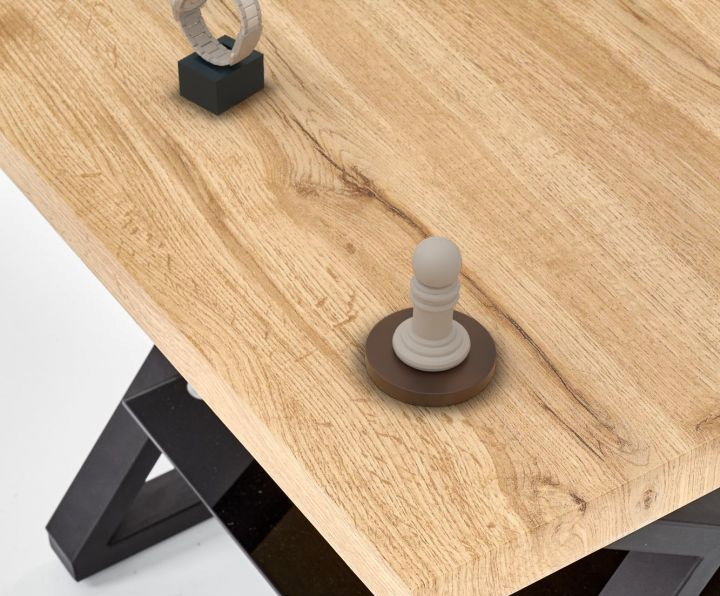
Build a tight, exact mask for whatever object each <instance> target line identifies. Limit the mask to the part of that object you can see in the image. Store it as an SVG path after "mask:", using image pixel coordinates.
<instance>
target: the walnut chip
mask: <svg viewBox="0 0 720 596" xmlns="http://www.w3.org/2000/svg"><path fill="white" fill-rule="evenodd" d="M412 317H413V306H412V307H407V308H403V309H399V310H396V311H394V312H392V313H389V314H388V315H386V316H384V317H383V318H381V320H379V321H378V322H376V323H375V325H374V326H373V327H372V328H371V330H370V331H369V333H368V335H367V338H366V341H365V348H364V349H365V350H364V364H365V370H366V371H367V375H369V378H370V379H371V380H372V382H373V383H374V385H375V386H377V388H379V389H380V390H381V391H382V392H384V393H385V394H386V395H388V396H390V397H392V398H394V399H396V400H398V401H400V402H403V403H406V404H410V405H415V406H421V407H435V408H436V407H446V406H453V405H457V404H460V403H464V402H465V401H468V400H470V399H472V398H475V396H477V395H478V394H480V393H481V392H482V391H483V390H484V389H485V388H486V387H487V386H488V385H489V384H490V383H491V380H492V379H493V376H494V374H495V369H496V362H497V361H496V360H497V347H496V343H495V340H494V338H493V337H492V335H491V333H490V332H489V331H488V330H487V328H486V327H485V326H484V325H483V324H482V323H480V322H479V321H478V320H476V319H475V318H474V317H472V316H470V315H468V314H467V313H463V312H461V311H459V310H455V309H453V320H455V321H456V322H458V323H459V324H461V325H462V326H463V327H464V328H465V329H466V331H467V333H468V335H469V338H470V350H469V353H468V355H467V356H466V358H465V359H464V360H463V361H462V362H461V363H460V364H458V365H457V366H455V367H453V368H450V369H447V370H443V371H423V370H419V369H416V368H413V367H411V366H409V365H407V364H406V363H404V362H403V361H402V360H401V359H399V357H398V356H397V355H396V353H395V351H394V348H393V343H392V339H393V335H394V333H395V330H396V329H397V327H398V326H399V325H400V324H401V323H402V322H404V321H405V320H407V319H409V318H412Z"/></svg>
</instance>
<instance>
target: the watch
mask: <svg viewBox="0 0 720 596" xmlns="http://www.w3.org/2000/svg"><path fill="white" fill-rule="evenodd" d="M207 1H208V0H167V2H168V3H169V5H170V6H171V12H172V16H173V19H174V20H175V22H176V23H178V27H179V28H180V29H179V30H180V31H181V33H182V35H183V37H184V38H185V40H186V41H187V43H188V44H189V46H190V47H191V48H192V50H193V51H194V52H191V53H190V54H188V55H186V56H184V57H183V58H181V59H180V60H177V73H178V87H179V96H181V97H182V98H185V99H186V100H188V101H190V102H192V103H194V104H195V105H197V106H198V107H200V108H202V109H204V110H206V111H208V112H210V113H212V114H213V115H215V116H220V115H221V114H223V113H225V112H226V111H229V110H230V109H231V108H233V107H234V106H237V105H238V104H240V103H242V102H243V101H245V100H246V99H249V98H250V97H251V96H253V95H255V94H256V93H258V92H260V91H262V90H263V89H264V88H265V61H264V60H265V59H264V58H265V57H264V53H262V52H261V51H258V50H256V47H257V45H258V44H259V41H260V39H261V36H262V33H263V29H264V25H263V24H262V23H263V19H262V18H263V15H262V14H263V13H262V8H261V6H260V5H261V4H260V2H259V0H231V1H232V3H233V4H234V6H235V7H236V10H237V13H238V17H239V18H240V28H239V32H238V33H237V34H236V38H233V37H231V36H229V35H227V34H223V35H222V36H220V37H218V38H216V37H215V36H213V34H212V32H211V31H210V29H209V27H208V26H207V23H206V21H205V18H204V17H203V14H202V11H201V9H204V7H205V6H206V4H207Z"/></svg>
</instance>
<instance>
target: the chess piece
mask: <svg viewBox="0 0 720 596" xmlns="http://www.w3.org/2000/svg"><path fill="white" fill-rule="evenodd" d="M461 253H462V252H461V250H460V248H459V247H458V245H457V244H456V243H455V242H454V241H453V240H451V239H450V238H448V237H446V236H440V235H434V236H429V237H425V238H424V239H423V240H421V241H420V242H419V243H418V244H417V245H416V246H415V248H414V249H413V252H412V255H411V268H412V272H413V275H411V276H412V277H411V279H410V281H409V287H410V290H409V292H408V293H409V295H408V296H409V300H410V302H411V304H412V305H413V306H412V307H413V317H412V318H409V319H407V320H405V321H404V322H402V323H401V324H400V325H399V326H398V327H397V329H396V330H395V333H394V335H393V339H392V343H393V348H394V351H395V353H396V355H397V356H398V357H399V359H401V360H402V361H403V362H404V363H406V364H407V365H409V366H411V367H413V368H416V369H419V370H423V371H443V370H447V369H450V368H453V367H455V366H457V365H458V364H460V363H461V362H462V361H463V360H464V359H465V358H466V356H467V355H468V353H469V350H470V338H469V335H468V333H467V331H466V329H465V328H464V327H463V326H462V325H461V324H459V323H458V322H456V321H455V320H453V310H454V308H455V307H456V306H457V304H458V303H459V300H460V297H461V296H460V290H461V281H460V278H459V276H460V275H461V272H462V268H463V257H462V254H461Z"/></svg>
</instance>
